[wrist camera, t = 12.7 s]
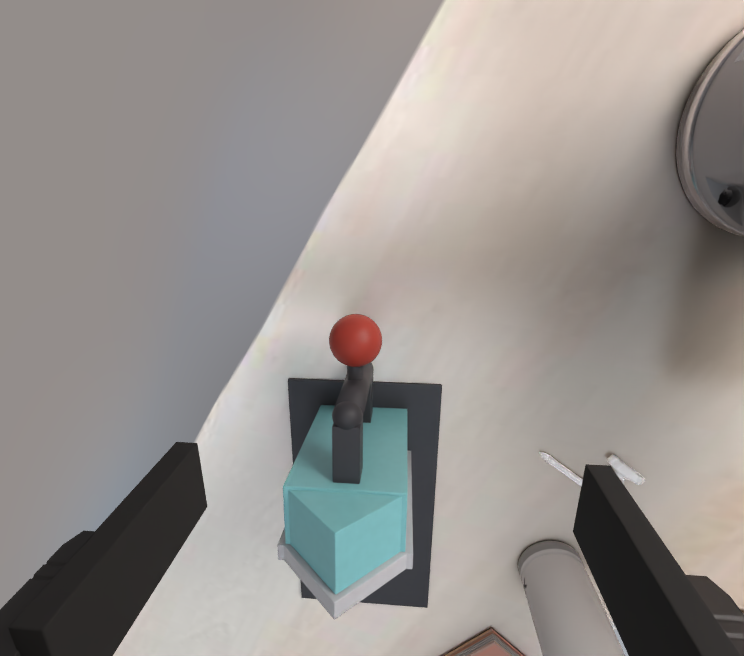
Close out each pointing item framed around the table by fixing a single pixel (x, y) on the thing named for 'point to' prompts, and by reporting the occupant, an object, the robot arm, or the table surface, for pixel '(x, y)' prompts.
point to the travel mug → (565, 603)
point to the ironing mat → (424, 450)
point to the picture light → (614, 461)
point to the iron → (350, 485)
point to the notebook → (486, 646)
